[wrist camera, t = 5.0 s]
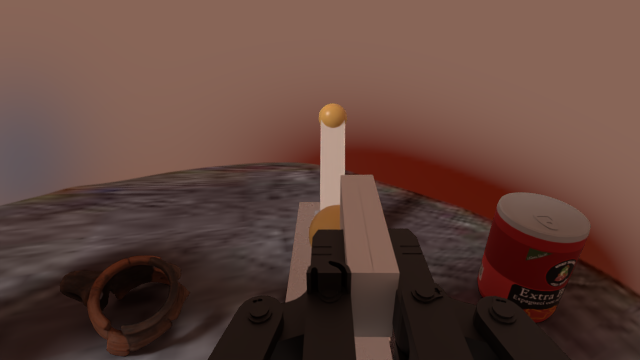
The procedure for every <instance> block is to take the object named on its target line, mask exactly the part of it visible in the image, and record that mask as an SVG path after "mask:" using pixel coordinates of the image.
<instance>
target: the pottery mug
mask: <svg viewBox="0 0 640 360" xmlns="http://www.w3.org/2000/svg"><path fill="white" fill-rule="evenodd" d="M153 266H155V267H157V268H154V267H153ZM158 268H159V269H158ZM180 272H181V269H180V268H179V267H178V266H177V265H174V264H171V263H167V262H165V261H164V260H162V259H161V258H160V257H156V256H133V257H129V258H127V259H126V258H125V259H122V260H120V261H118V262H116V263H114V264H112V265H111V266H109V267H108V268H107V269H105V270H104V271H86V270H83V271H74V272H70V273H68V274H67V275H65V276H64V278H63V280H62V282H61V283H60V291H61V292H62V293H63V294H64V295H66V296H68V297H70V298H73V299H75V300H78V301H80V302H83V304H84V306H86V307H87V309H88V314H89V318H90V320H91V323H92V324H93V327H94V329H95V330H96V331H97V333H98V334H99V335H100V336H102V337H103V338H104V339H107V349H106V350H107V351H108V352H109V353H110V354H113V355H118V356H126V355H127V354H129V352H130V351H137V350H138V349H140V348H142V347H144V346H146V345H147V344H149V343H151V342H152V341H154V340H155V339H157V338H158V337H160V336H161V335H162V334H163V333H164V332H166V331H167V330H168V329H170V327H171V326H172V322H171V321H172V320H175V319H177V318H178V316H179V314H180V311H181V308H182V306H183V303H184V301H185V300H186V298H187V297H188V296H189V294H190V292H189V291H188V290H187V289H186V288H185V287H184V286H183V285H182V284H180V283H179V282H178V279H179V278H180V277H181V273H180ZM148 282H158V283H164V284H167V285H170V290H169V295H168V298H167V300H166V302H165V303H164V305H163V306H162V308H161V309H160V310H159V311H158V312H157V313H155V314H154V315H153V316H152V317H150V318H149V319H147V320H145V321H143V322H140V323H137V324H132V325H122V326H121V329H122V331H121V330H117V329H115V328H113V327H111V322H110V320H108V319H107V318H106V317H105V316H104V314H103V313H102V311H103V309H104V308H105V307H106V306H107V304H108V297H109V292H110V291H111V292H112V293H113V294H115V296H116V298H117V299H119V300H121V299H122V298H123V297H124V296H125V295H126V294H127V293H128V292H129V291H130V290H132V289H133V288H135V287H137V286H139V285H141V284H144V283H148Z"/></svg>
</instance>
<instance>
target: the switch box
mask: <svg viewBox="0 0 640 360" xmlns="http://www.w3.org/2000/svg"><path fill="white" fill-rule="evenodd" d="M315 210H320V202H300V204H299V211H298V218H297V225H296V232H295V239H294V246H293V253H292V260H291V267H290V274H289V281H288V288H287V295H286V302H289V301H292V300H294V299H297V298H298V297H300V296H301V295H303V294H304V293H305V292H306V290H307V280H306V272H307V269H308V267H309V266H310V265H311V250H312V247H311V245H310V241H309V228H310V224H311V222H312V220H313V218H314V217H315ZM390 342H391V339H390V337H355V349H356V360H392V355H391V349H390Z"/></svg>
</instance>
